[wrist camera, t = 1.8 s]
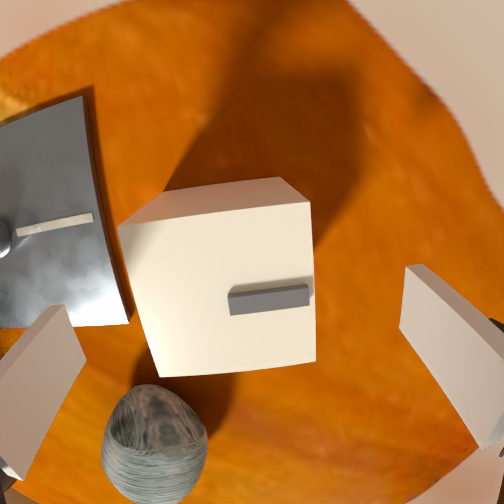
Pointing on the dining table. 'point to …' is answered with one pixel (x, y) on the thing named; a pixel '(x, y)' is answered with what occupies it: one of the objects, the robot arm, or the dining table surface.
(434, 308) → the robot arm
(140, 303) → the white drawer box
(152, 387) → the spool
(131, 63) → the dining table surface
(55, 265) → the gray board
